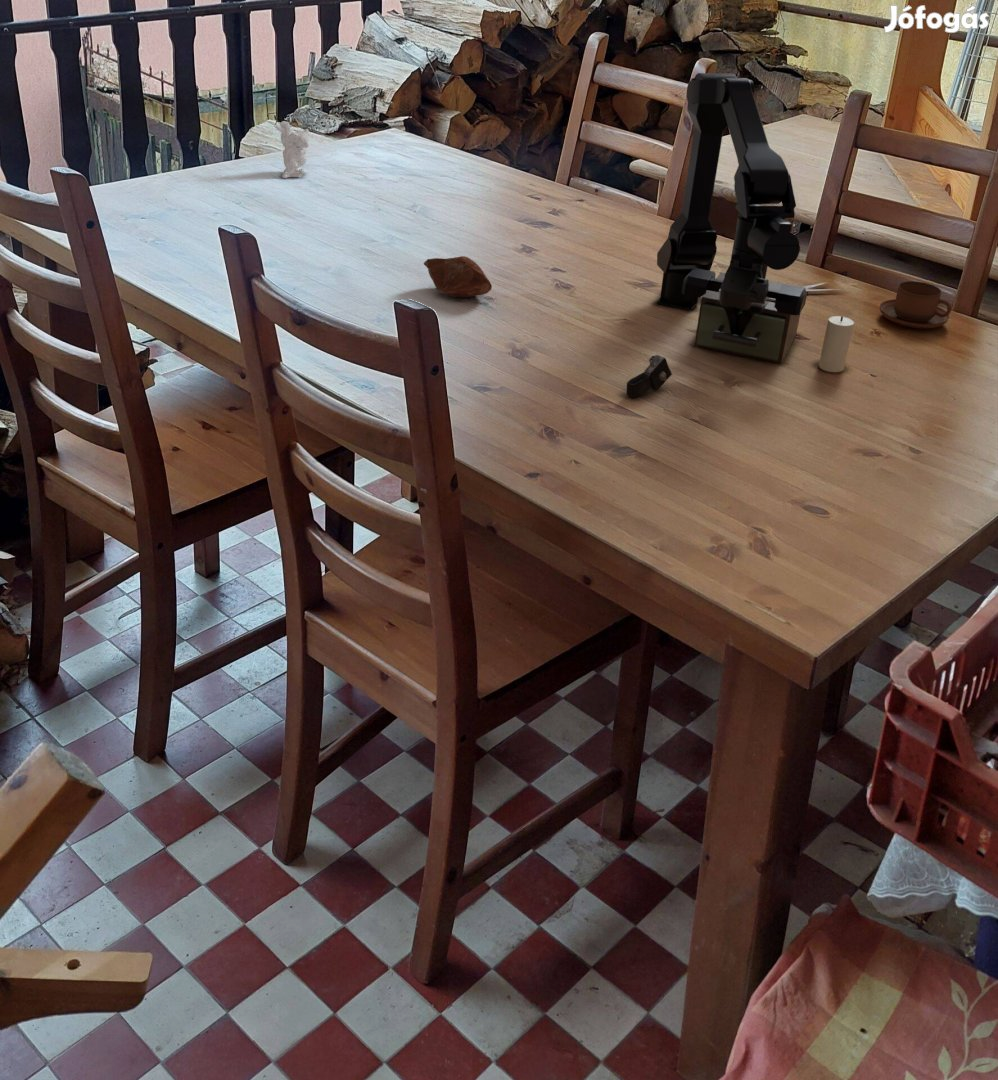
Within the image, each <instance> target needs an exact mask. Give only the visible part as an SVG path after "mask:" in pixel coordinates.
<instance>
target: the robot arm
mask: <svg viewBox="0 0 998 1080" xmlns="http://www.w3.org/2000/svg"><path fill="white" fill-rule="evenodd" d="M686 100H687V106H686V107H687V108H686V109H687V112H688V115H689V117H690V119H691V123H692V125H693V135H692V142H691V147H690V155H689V160H688V161H689V162H688V168H687V174H686V181H685V187H684V195H683V202H682V207H681V208H682V209H681V212H680V213H679V214H678V216H677V217H676V218H675V220H674V221H673V223H672V224H671V225H670V227H669V230H668V231H669V232H668V236H667V238H666V240H665V242H664V243H663V244H662V245H661V247H660V248H659V250H658V251H657V253H656V265H657V267H658V268H659V269H660V270H661V271H662V272H663V273H662V281H661V289H660V295H659V298H658V299H657V300H656V303H657V304H659V305H664V306H668V307H673V308H679V309H685V310H690V311H691V310H693V309H694V308H695V306H696V305H698V304H699V303H700V302H701V298H702V296H703V295H704V294H706V291H707V290H709V291H714V292H719V299H718V300H717V305H718V306H722V307H723V309H724V310H725V312H726V314H727V317H728V321H729V326H730V331H731V334H736V335H741V336H742V334H743V332H744V330H745V329H746V327H747V325H748V323H749V321H750V319H751V318H752V316H753V315H754V314H755V313H762V312H763V310H764V309H765V307H766V306H767V304H768V302H773V303H775V306H774V307H775V308H776V310H777V311H778V312H779V313H784V314H790V315H800V316H801V313H802V311H803V309H804V308H805V306H806V301H807V298H808V292H806V290H805V288H802V287H803V286H800V287H796V286H797V285H795V286H791V285H792V284H789V285H785V284H786V283H784V284H783V285H782V287H781V288H780V290H779V291H778V290H773V289H768V288H769V281H770V280H769V279H767V272H768V268H770V269H771V270H775V271H781V270H784V269H787V268H789V267H790V266H792V265H793V264H794V263H795V261H796V260H797V259H798V257H799V254H800V252H801V246H800V241H799V238H798V237H797V236H796V234H794V232H792V226H793V225H792V223H791V222H790V221H788V220H785V219H794V218H795V216H796V215H795V208H796V207H797V204H796V198H795V193H794V188H793V183H792V177H791V175H790V173H789V170H788V168H787V165H786V163H785V161H784V159H783V157H782V156H781V155H780V154H778V152H776V151H775V150H773V149H772V148H771V147H770V145H769V142H768V138H767V136H766V132H765V128H764V125H763V122H762V120H761V115H760V112H759V108H758V106H757V102H756V99H755V85H754V81H753V80H752V79H749V78H748V77H738V76H737V75H736V74H735V73H725V72H724V73H719V72H717V73H715V72H698V73H696V74H695V76H694V77H692V78H691V79H690V80H689V82H688V83H687V87H686ZM727 128H728V131H729V134H730V138H731V142H732V145H733V149H734V152H735V155H736V158H737V164H738V166H737V168H736V171H735V173H734V175H733V181H734V184H733V187H734V193H735V198H736V201H737V204H735V210H736V211H738V214H737V221H736V225H735V232H734V237H733V238H734V239H733V244H732V251H731V256H730V261H729V265H728V267H727V269H726V271H725V272H724V273H725V277H724V280H718V279H716V275H717V274H716V271H713V270H712V266H713V263H714V260H715V257H716V254H717V249H718V247H717V239H718V234H717V231H716V230H715V229H714V227H713V224H712V222H711V220H710V217H711V216H710V215H711V209H712V202H713V196H714V190H715V183H716V177H717V171H718V165H719V160H720V155H721V149H722V148H721V147H722V142H723V141H722V140H723V135H724V132H725V131H726V129H727ZM779 204H781V205H779ZM740 310H743V313H742V317H741V320H740ZM739 321H740V324H739Z"/></svg>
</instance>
